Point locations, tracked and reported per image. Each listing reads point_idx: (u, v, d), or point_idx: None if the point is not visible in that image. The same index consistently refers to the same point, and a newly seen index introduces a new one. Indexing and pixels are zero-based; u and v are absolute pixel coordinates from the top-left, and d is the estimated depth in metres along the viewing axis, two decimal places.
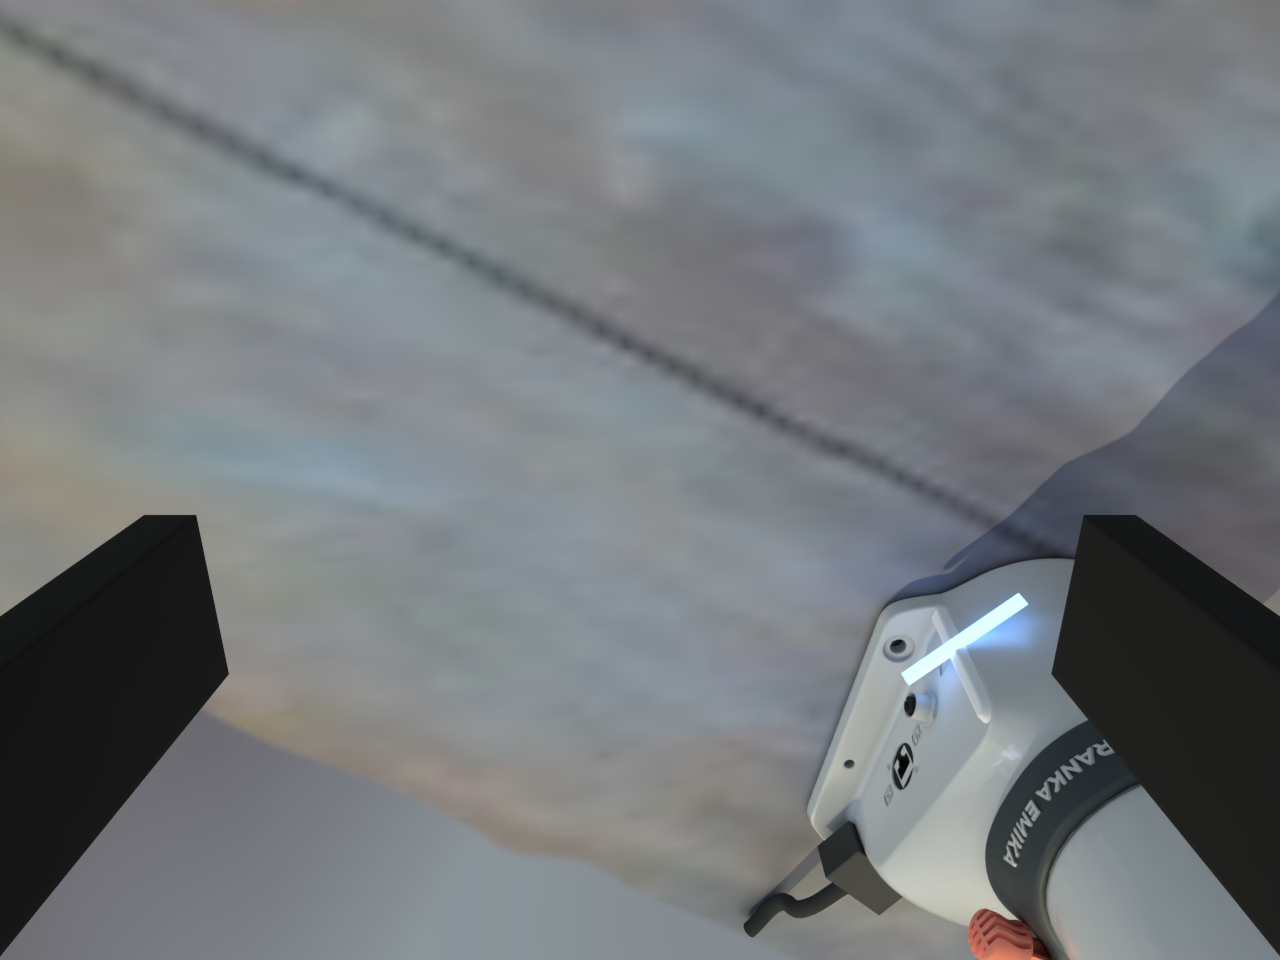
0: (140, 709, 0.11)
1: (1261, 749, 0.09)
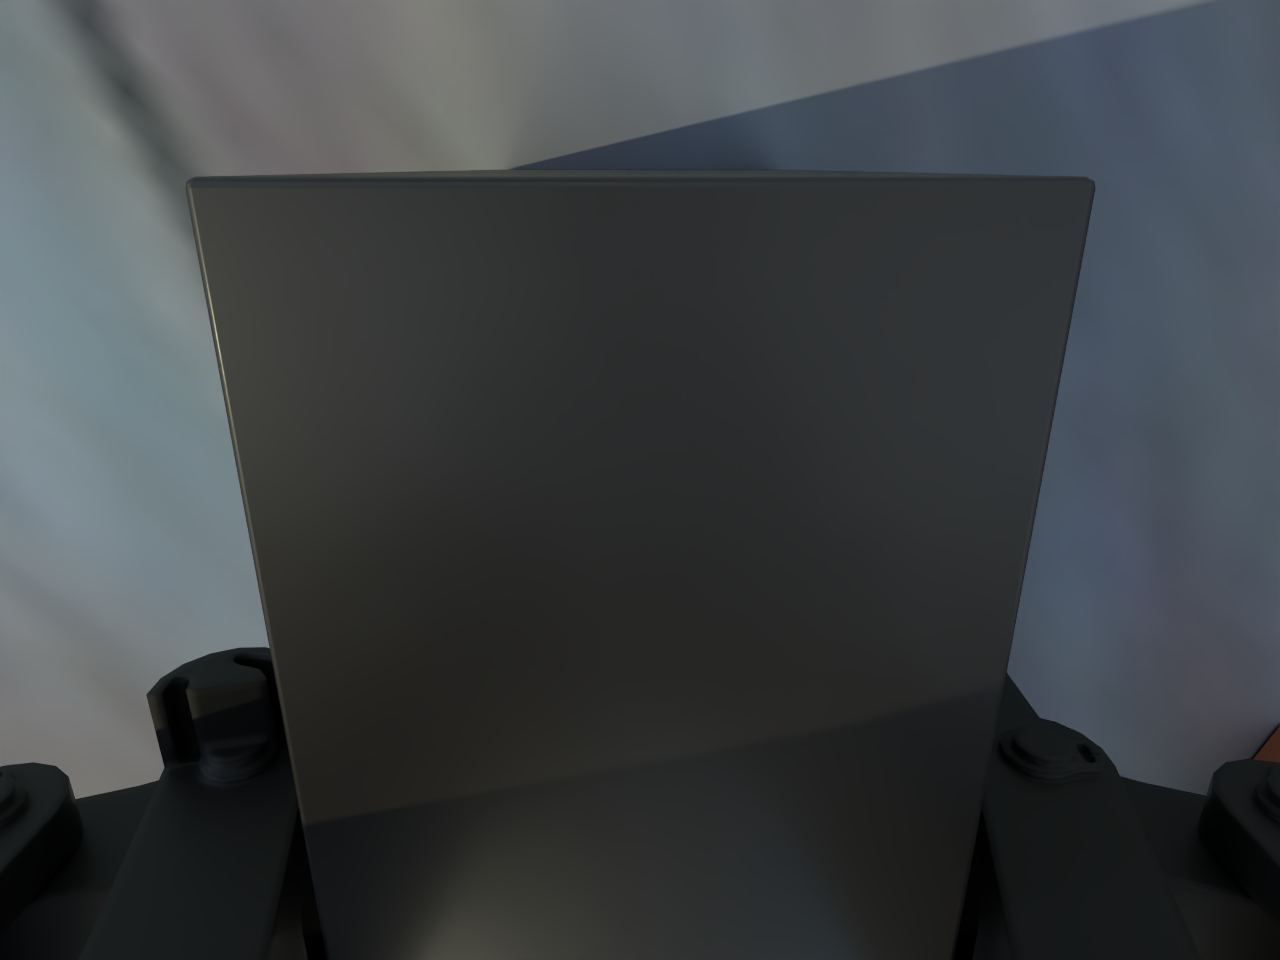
0: None
1: None
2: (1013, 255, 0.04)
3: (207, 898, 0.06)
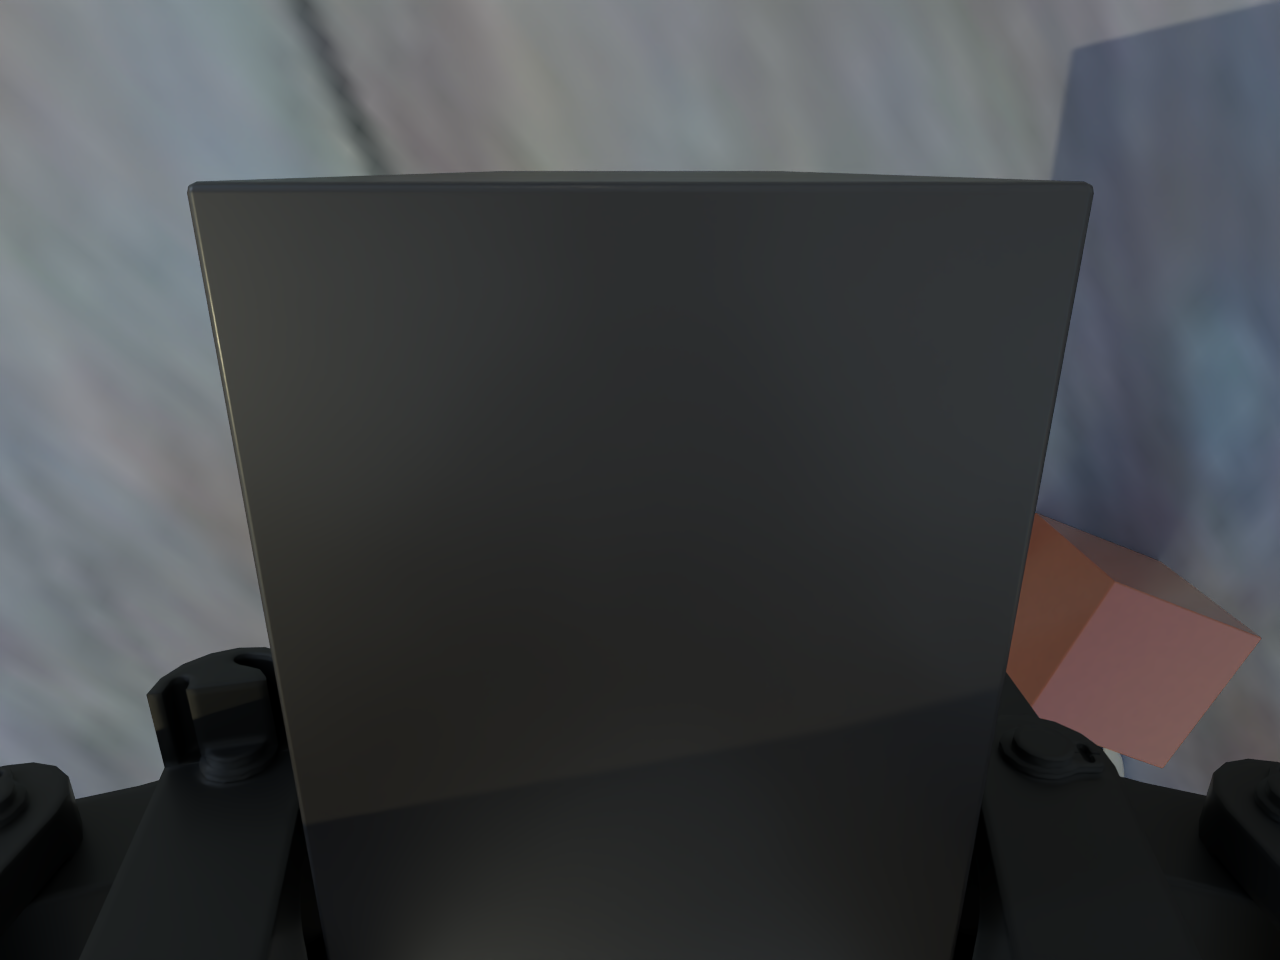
0: None
1: None
2: (1012, 260, 0.04)
3: (207, 898, 0.06)
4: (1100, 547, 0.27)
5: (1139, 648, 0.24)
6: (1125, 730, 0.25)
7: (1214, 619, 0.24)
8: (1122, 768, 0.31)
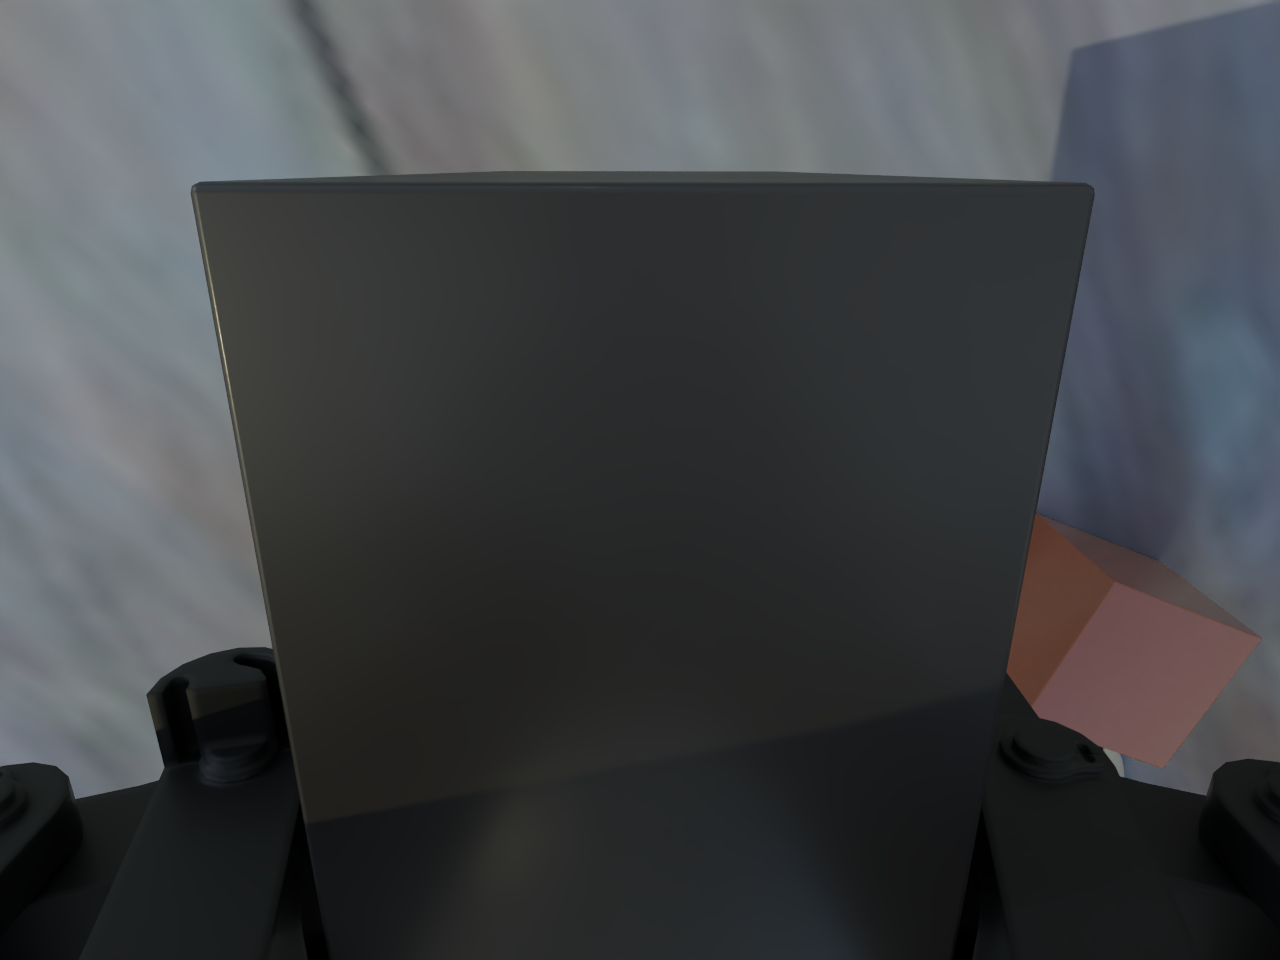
0: None
1: None
2: (1012, 263, 0.04)
3: (207, 898, 0.06)
4: (1100, 547, 0.27)
5: (1139, 648, 0.24)
6: (1125, 730, 0.25)
7: (1214, 619, 0.24)
8: (1122, 768, 0.31)
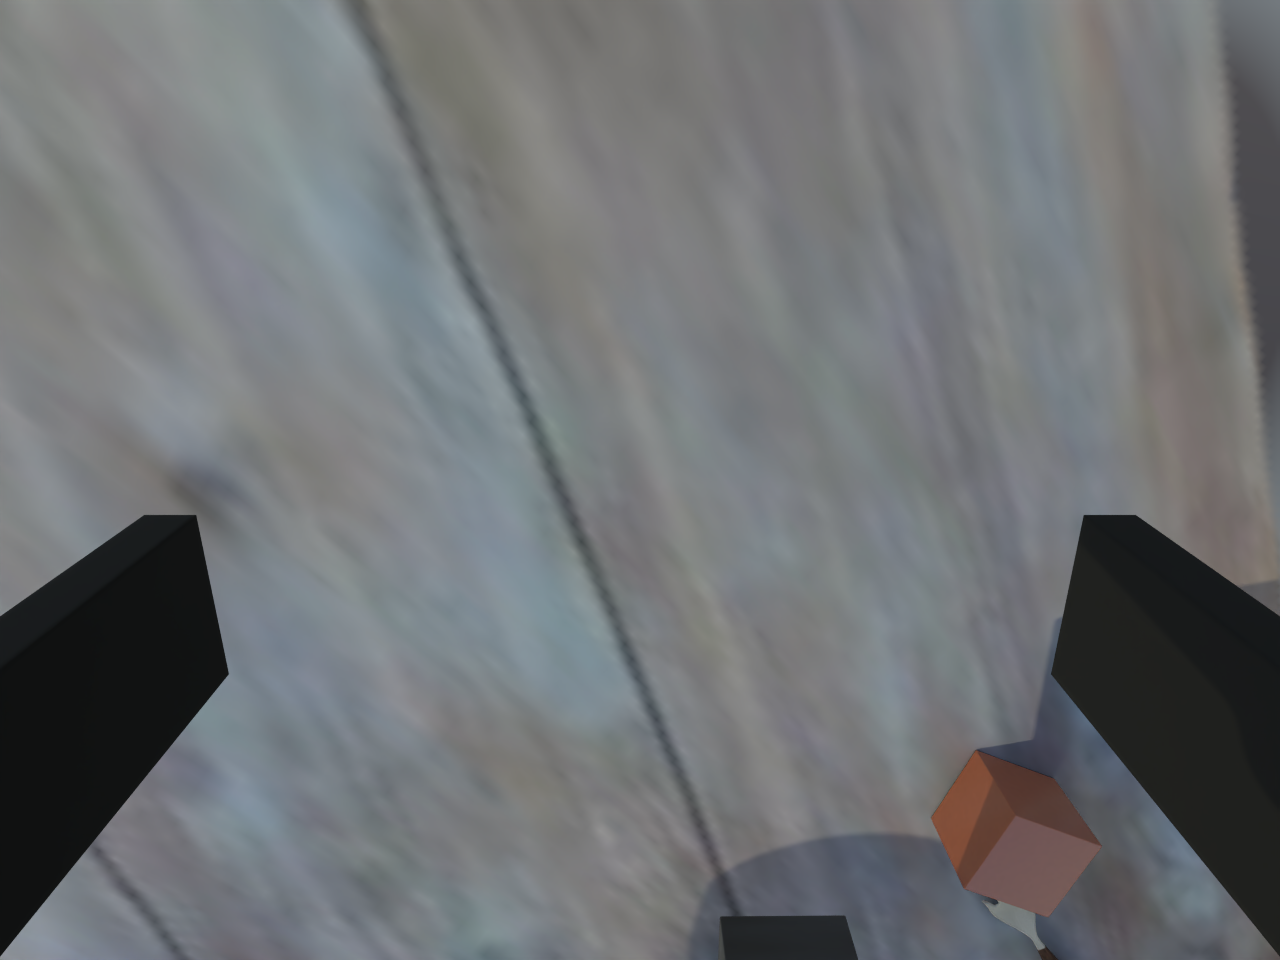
0: (140, 709, 0.11)
1: (1261, 749, 0.09)
2: None
3: None
4: (1014, 777, 0.44)
5: (1031, 851, 0.41)
6: (1024, 896, 0.42)
7: (1074, 835, 0.41)
8: None
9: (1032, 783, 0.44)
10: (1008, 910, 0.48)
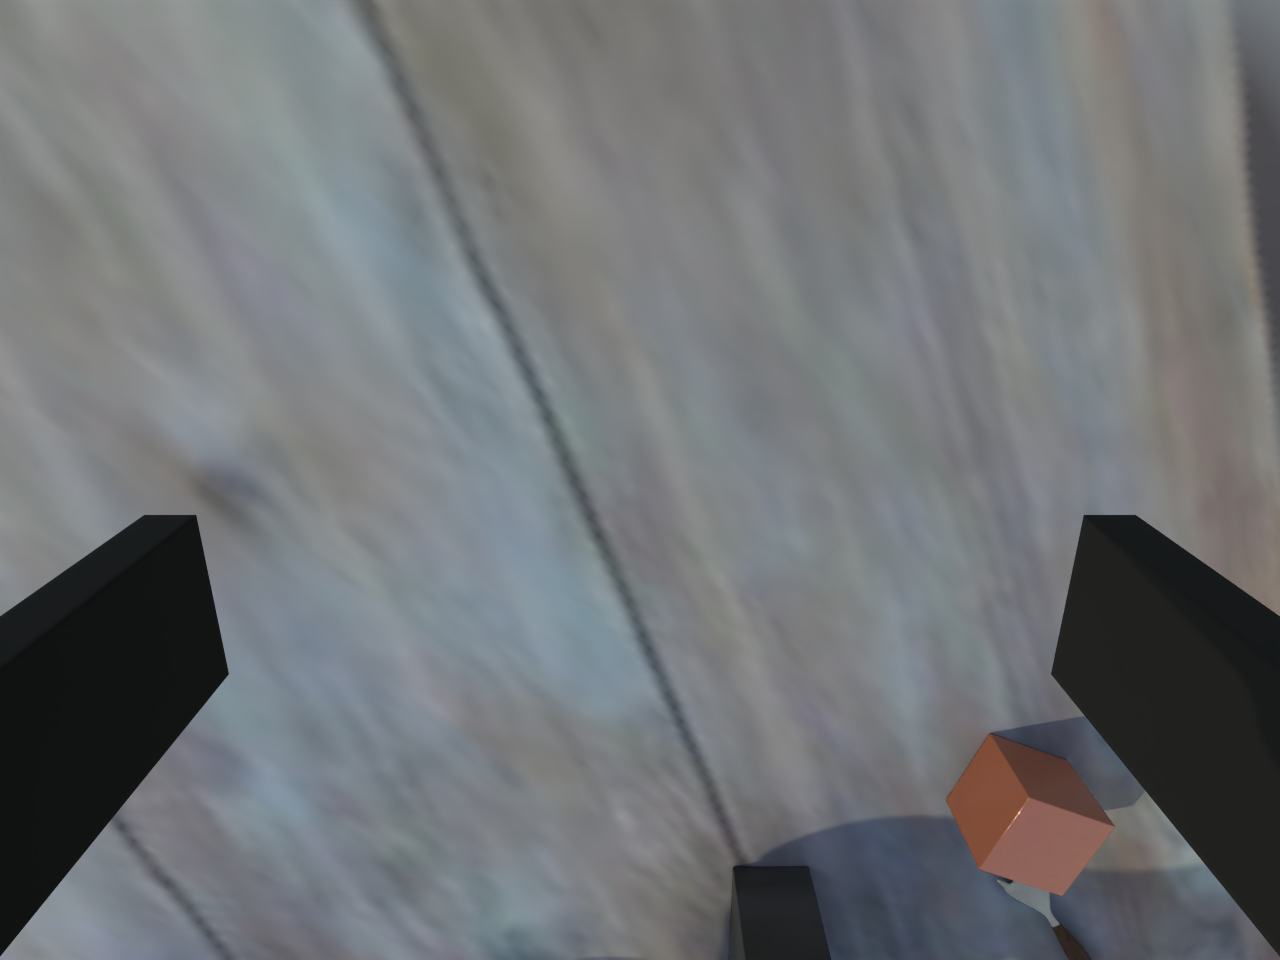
0: (140, 709, 0.11)
1: (1262, 749, 0.09)
2: None
3: None
4: (1028, 759, 0.45)
5: (1045, 831, 0.42)
6: (1039, 875, 0.43)
7: (1087, 816, 0.42)
8: None
9: (1046, 765, 0.45)
10: (1022, 888, 0.49)
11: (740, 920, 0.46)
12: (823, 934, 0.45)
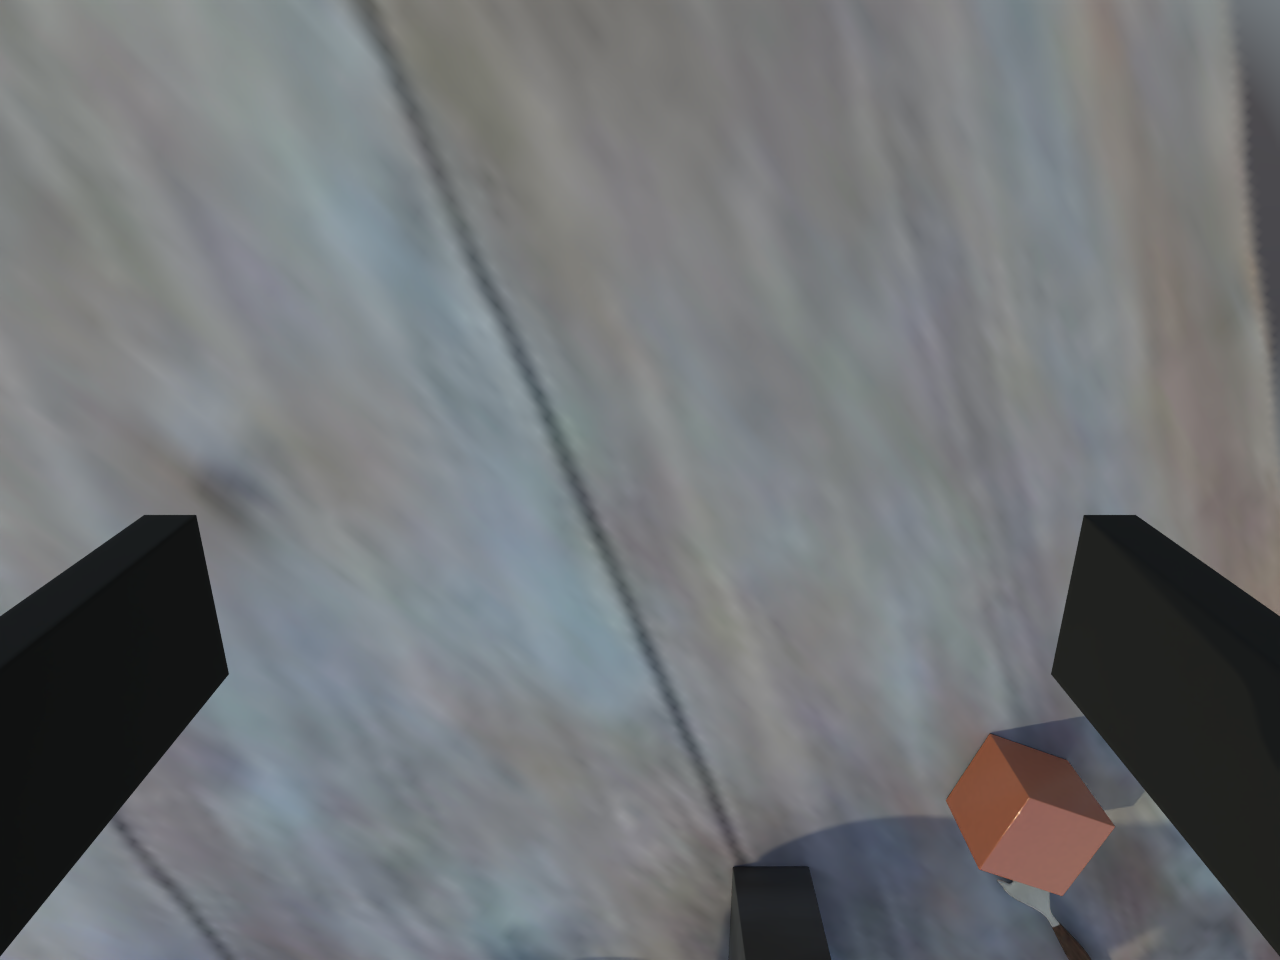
0: (140, 709, 0.11)
1: (1262, 749, 0.09)
2: None
3: None
4: (1028, 759, 0.45)
5: (1045, 831, 0.42)
6: (1039, 875, 0.43)
7: (1087, 816, 0.42)
8: None
9: (1046, 765, 0.45)
10: (1022, 888, 0.49)
11: (740, 920, 0.46)
12: (823, 934, 0.45)
